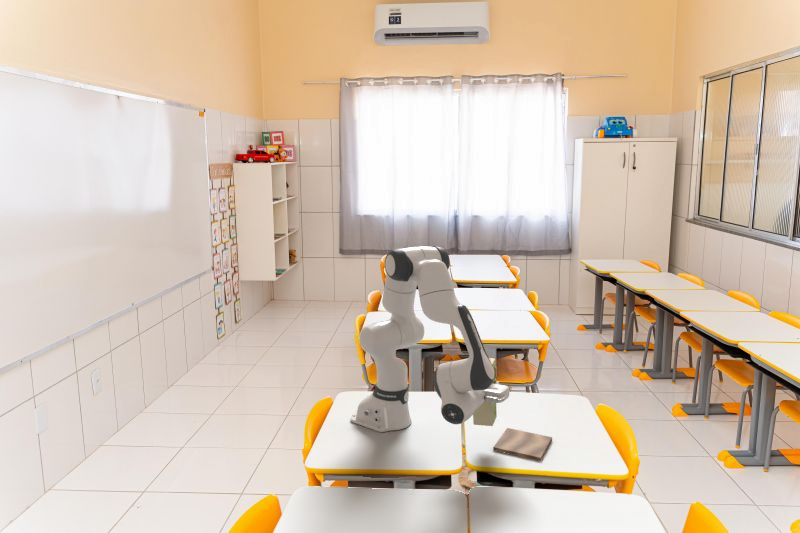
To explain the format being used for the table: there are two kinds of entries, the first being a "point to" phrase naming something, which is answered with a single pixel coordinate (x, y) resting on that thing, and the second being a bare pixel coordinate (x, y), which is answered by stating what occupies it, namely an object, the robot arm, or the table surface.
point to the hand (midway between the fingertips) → (485, 381)
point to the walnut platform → (523, 444)
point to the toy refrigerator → (486, 408)
